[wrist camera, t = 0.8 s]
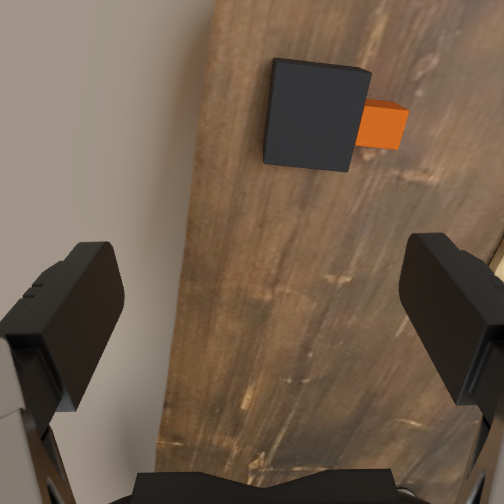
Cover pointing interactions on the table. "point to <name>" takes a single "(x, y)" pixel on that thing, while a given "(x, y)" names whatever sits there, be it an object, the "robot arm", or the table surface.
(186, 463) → the table surface
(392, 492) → the robot arm
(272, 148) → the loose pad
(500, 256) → the board
